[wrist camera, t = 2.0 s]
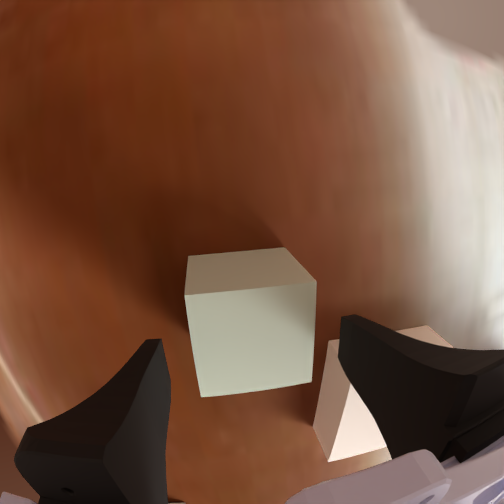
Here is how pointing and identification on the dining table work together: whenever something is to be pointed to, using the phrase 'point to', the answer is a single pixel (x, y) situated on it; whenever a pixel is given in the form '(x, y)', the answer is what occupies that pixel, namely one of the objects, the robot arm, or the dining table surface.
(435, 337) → the cream block
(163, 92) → the dining table surface
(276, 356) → the sage block
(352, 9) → the dining table surface
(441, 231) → the dining table surface
